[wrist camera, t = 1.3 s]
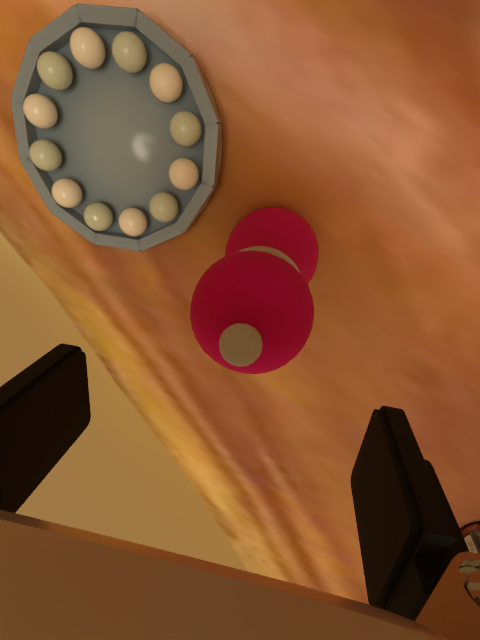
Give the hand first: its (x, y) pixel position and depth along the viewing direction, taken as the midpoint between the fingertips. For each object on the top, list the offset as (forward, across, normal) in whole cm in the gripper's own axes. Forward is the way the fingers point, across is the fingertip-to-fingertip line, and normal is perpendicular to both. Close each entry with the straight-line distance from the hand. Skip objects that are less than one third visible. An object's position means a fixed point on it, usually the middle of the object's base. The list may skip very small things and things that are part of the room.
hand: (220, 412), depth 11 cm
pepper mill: (+23, 0, -1) cm, 23 cm away
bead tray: (+23, +14, -7) cm, 28 cm away
